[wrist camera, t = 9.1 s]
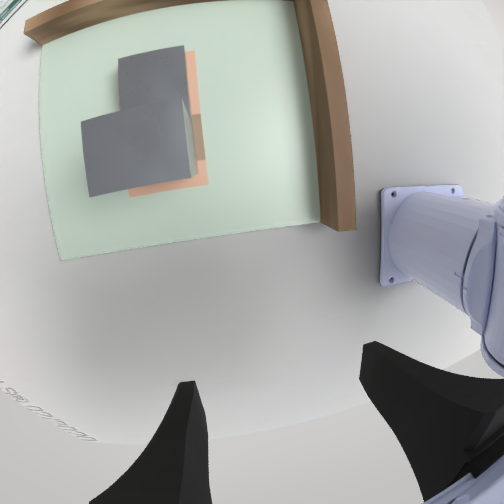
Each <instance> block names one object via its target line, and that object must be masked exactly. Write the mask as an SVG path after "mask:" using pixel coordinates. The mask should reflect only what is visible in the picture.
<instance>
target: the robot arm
mask: <svg viewBox="0 0 504 504" xmlns="http://www.w3.org/2000/svg"><path fill="white" fill-rule="evenodd" d="M451 190H452V192H451ZM392 192H394V195H393V197H392V196H391V193H392ZM381 215H382V233H381V268H380V284H381V285H382V286H384V287H388V286H392V285H396V284H400V283H404V282H408V281H412V280H415V281H416V282H418V283H419V284H421V285H423V286H424V287H426V288H427V289H429V290H430V291H432V292H433V293H435V294H437V295H438V296H440V297H441V298H443V299H444V300H446V301H447V302H449V303H450V304H452V305H453V306H455V307H456V308H458V309H459V310H461V311H462V312H464V313H465V314H467V315H468V316H469V317H470V319H471V328H472V329H473V330H474V331H476V332H477V333H478V334H480V335H481V336H482V338H481V352H482V356H483V358H484V360H485V361H486V363H487V364H488V366H489V367H490V368H491V369H492V370H494V371H495V372H496V373H497V374H499V375H501V376H503V377H504V197H503V198H502V199H501V200H499V201H498V202H497V203H496V204H492V203H488V202H484V201H480V200H475V199H471V198H467V197H463V188H462V186H461V185H431V186H408V187H390V188H384V189H383V190H382V192H381ZM390 278H392V279H391V281H389V280H390ZM359 380H360V382H361V384H362V386H363V388H364V390H365V391H366V393H367V395H368V397H369V398H370V400H371V401H372V403H373V404H374V405H375V407H376V408H377V410H378V411H379V412H380V414H381V415H382V416H383V417H384V419H385V420H386V422H387V423H388V425H389V426H390V427H391V429H392V430H393V432H394V433H395V435H396V437H397V438H398V440H399V442H400V444H401V446H402V447H403V450H404V452H405V454H406V456H407V458H408V460H409V462H410V464H411V467H412V469H413V471H414V474H415V476H416V479H417V481H418V484H419V487H420V490H421V493H422V496H423V500H424V503H423V504H504V379H486V378H485V379H484V378H476V377H469V376H464V375H459V374H454V373H451V372H447V371H444V370H440V369H437V368H435V367H432V366H429V365H427V364H424V363H422V362H419V361H417V360H415V359H412V358H410V357H408V356H406V355H404V354H402V353H400V352H398V351H396V350H394V349H392V348H389V347H387V346H385V345H383V344H381V343H379V342H377V341H373V342H370V343H367V344H364V345H363V353H362V361H361V369H360V377H359ZM89 504H212V500H211V493H210V487H209V469H208V431H207V423H206V416H205V411H204V408H203V405H202V402H201V399H200V396H199V392H198V389H197V386H196V383H195V381H188V382H180V383H179V384H178V386H177V389H176V392H175V394H174V397H173V399H172V401H171V404H170V406H169V408H168V410H167V412H166V414H165V416H164V418H163V420H162V422H161V424H160V426H159V427H158V429H157V431H156V433H155V434H154V436H153V438H152V439H151V441H150V442H149V444H148V445H147V447H146V448H145V450H144V451H143V452H142V453H141V455H140V456H139V457H138V459H137V460H136V461H135V462H134V463H133V465H132V466H131V467H130V468H129V469H128V470H127V471H126V472H125V473H124V474H123V475H122V476H121V477H120V478H119V479H118V480H117V481H116V482H115V483H113V485H111V486H110V487H109V488H108V489H106V490H105V491H104V492H103V493H101V494H100V495H98V496H97V497H96V498H94V499H93V500H91V501H90V502H89Z"/></svg>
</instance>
